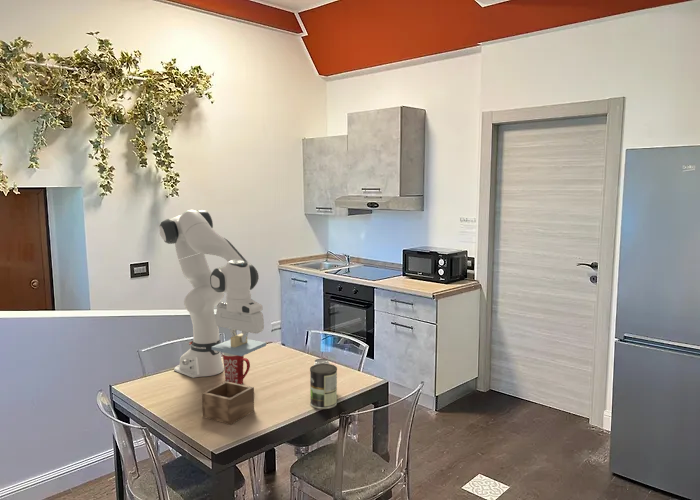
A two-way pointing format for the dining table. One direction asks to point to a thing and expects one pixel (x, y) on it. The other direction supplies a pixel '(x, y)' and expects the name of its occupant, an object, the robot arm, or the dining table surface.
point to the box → (228, 402)
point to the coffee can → (323, 386)
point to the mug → (234, 368)
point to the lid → (238, 346)
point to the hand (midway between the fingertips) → (239, 341)
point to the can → (321, 361)
